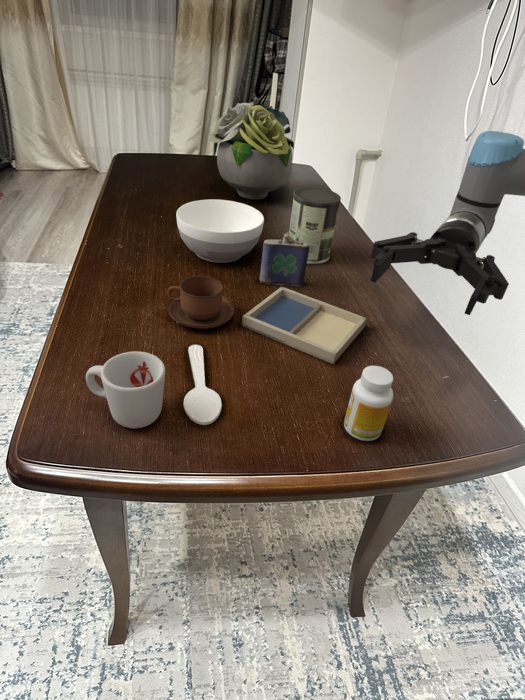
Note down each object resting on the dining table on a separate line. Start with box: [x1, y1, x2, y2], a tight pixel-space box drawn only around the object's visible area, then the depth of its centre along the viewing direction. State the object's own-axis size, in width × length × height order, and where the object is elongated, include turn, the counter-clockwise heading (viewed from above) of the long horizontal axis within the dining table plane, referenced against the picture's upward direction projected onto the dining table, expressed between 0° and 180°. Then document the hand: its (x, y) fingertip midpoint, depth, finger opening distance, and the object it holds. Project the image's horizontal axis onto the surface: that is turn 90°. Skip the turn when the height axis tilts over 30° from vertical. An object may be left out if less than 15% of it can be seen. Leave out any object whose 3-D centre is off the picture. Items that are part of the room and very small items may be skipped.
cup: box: [85, 351, 166, 429], centre depth 65 cm, size 11×8×8 cm
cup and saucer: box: [166, 275, 236, 330], centre depth 87 cm, size 12×12×6 cm
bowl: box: [176, 199, 265, 264], centre depth 108 cm, size 19×19×9 cm
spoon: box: [182, 344, 223, 426], centre depth 73 cm, size 5×18×1 cm, turn 11°
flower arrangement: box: [208, 101, 295, 200], centre depth 136 cm, size 25×25×24 cm
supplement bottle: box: [343, 365, 394, 442], centre depth 66 cm, size 5×5×10 cm
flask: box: [259, 231, 309, 287], centre depth 99 cm, size 9×3×11 cm, turn 91°
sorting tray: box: [241, 286, 367, 365], centre depth 88 cm, size 18×14×2 cm
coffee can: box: [288, 186, 342, 265], centre depth 110 cm, size 10×10×14 cm
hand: (420, 289), depth 68 cm, fingers open, 13 cm apart
